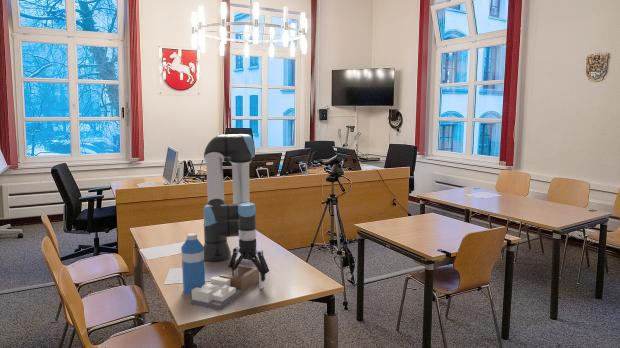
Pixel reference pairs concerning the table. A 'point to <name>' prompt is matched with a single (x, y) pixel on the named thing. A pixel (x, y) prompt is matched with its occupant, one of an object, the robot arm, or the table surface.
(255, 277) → the brown open crate
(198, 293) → the tray of white blocks
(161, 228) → the table surface
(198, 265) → the water bottle
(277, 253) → the table surface
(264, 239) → the table surface
